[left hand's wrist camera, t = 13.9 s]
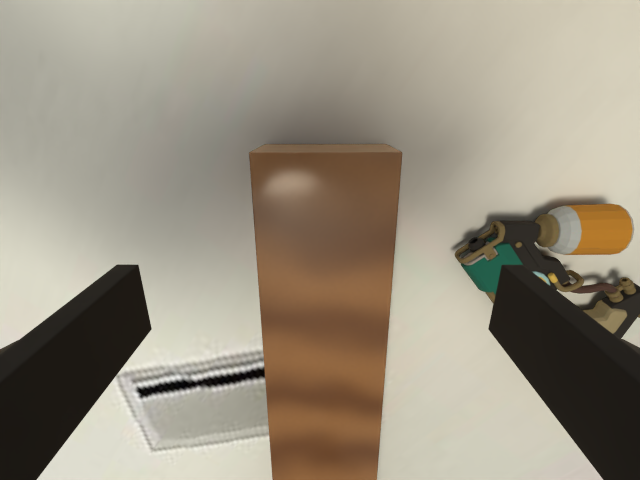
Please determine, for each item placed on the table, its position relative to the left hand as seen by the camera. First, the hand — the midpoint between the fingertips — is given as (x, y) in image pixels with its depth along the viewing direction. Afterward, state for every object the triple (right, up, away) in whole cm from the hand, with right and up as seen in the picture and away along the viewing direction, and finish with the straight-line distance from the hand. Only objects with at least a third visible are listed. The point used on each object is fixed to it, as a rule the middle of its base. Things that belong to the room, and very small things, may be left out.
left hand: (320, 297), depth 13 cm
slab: (0, -24, +29) cm, 38 cm away
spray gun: (+21, -2, +21) cm, 30 cm away
